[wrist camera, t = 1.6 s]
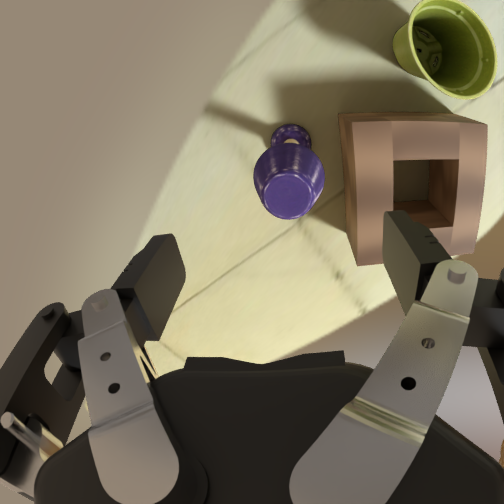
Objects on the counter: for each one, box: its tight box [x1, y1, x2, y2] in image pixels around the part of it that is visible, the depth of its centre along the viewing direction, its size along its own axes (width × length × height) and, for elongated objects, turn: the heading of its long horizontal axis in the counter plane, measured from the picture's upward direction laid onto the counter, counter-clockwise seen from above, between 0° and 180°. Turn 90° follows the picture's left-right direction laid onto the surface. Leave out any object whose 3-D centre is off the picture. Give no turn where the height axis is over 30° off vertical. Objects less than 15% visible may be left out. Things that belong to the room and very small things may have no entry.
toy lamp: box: [253, 124, 325, 220], centre depth 23 cm, size 5×5×17 cm
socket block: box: [338, 112, 487, 266], centre depth 28 cm, size 14×14×7 cm
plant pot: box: [393, 0, 497, 100], centre depth 19 cm, size 9×9×9 cm
